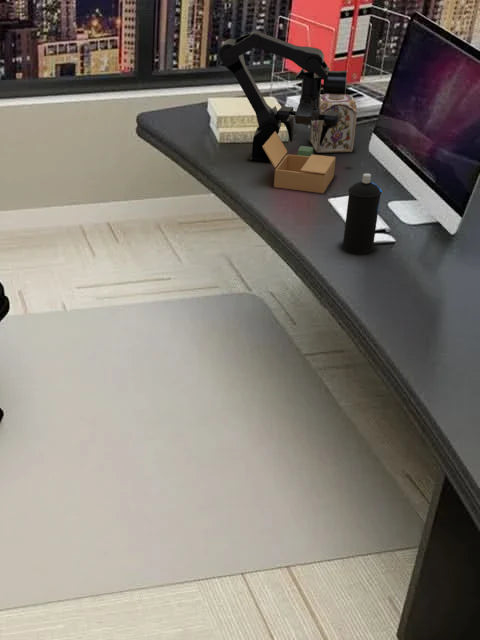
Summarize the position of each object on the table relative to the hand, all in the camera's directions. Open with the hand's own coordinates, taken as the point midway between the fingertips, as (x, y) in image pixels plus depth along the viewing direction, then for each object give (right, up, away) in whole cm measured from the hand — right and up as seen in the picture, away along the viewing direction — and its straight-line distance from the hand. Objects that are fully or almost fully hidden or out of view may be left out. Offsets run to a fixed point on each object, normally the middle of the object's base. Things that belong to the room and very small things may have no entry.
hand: (305, 143), depth 311 cm
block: (0, -5, +3) cm, 6 cm away
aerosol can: (+2, -40, -49) cm, 64 cm away
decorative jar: (+11, +2, +13) cm, 17 cm away
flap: (-12, -5, -13) cm, 18 cm away
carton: (-3, -15, -11) cm, 18 cm away
